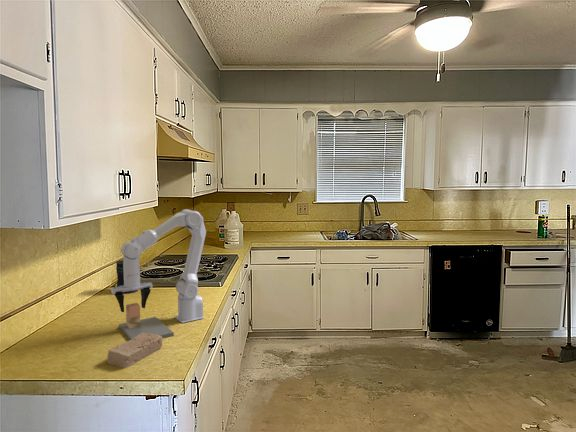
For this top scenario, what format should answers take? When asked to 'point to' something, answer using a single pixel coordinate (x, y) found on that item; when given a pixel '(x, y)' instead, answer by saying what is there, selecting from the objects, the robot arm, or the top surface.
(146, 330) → the plate
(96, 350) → the top surface
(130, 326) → the maple block
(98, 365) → the top surface
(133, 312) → the terracotta block
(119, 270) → the storage jar
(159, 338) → the brick
